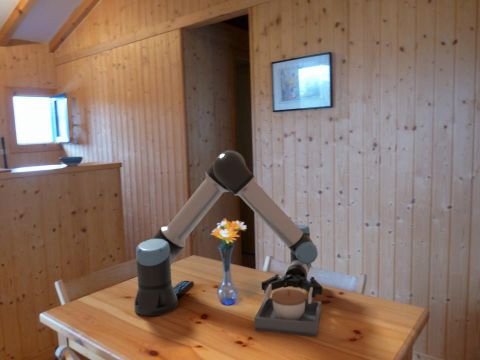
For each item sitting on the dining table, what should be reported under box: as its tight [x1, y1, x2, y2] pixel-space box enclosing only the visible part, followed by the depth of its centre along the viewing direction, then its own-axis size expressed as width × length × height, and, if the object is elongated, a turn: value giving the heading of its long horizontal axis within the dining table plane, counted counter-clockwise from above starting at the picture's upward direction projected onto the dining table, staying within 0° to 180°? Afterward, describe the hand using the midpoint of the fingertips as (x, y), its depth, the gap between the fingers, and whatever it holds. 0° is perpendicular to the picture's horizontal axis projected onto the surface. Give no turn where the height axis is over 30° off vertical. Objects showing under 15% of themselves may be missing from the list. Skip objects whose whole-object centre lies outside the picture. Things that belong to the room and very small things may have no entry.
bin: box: [254, 296, 322, 338], centre depth 126 cm, size 19×16×4 cm
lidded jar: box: [271, 288, 307, 321], centre depth 126 cm, size 11×11×9 cm
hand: (287, 297), depth 123 cm, fingers open, 13 cm apart
